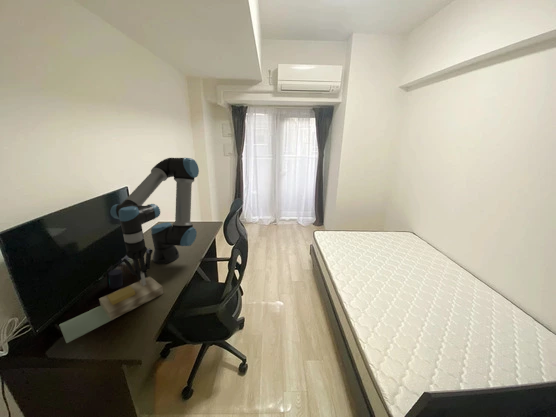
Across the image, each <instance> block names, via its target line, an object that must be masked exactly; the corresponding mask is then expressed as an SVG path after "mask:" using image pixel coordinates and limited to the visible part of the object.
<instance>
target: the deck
mask: <svg viewBox="0 0 556 417" xmlns="http://www.w3.org/2000/svg"><path fill="white" fill-rule="evenodd" d="M145 280H146V285H144V286H143V285H141V283H140V280H138V281H136V282H134V283H132V284H129V285H127V286H125V287H122V288H120V289H118V290H116V291H113V292H111V293H109V294H106V295H103V296H102V297H100V298H98V300H99V301H98V302H99V304H100V305H99V306H101V307H102V308H103V309H104V311H105V312H106V314H107V315H108V316H109V318H110V319H111V321H113V320H115V319H116V318H119V317H121V316H123V315H124V314H127V313H128V312H131V311H133V310H134V309H136V308H138V307H140V306H142V305H143V304H147V303H148V302H150V301H152V300H154V299H155V298H158V297H160V296H162V295H163V294H164V293H165V292H164V288H163V286H162V284H160V283H159V282H158V281H156V279H154V278H152V277H151V276H147V277H146V278H145ZM128 286H131V287H132V288H133V289H134V290H135V295H133V296H131V297H129V298H127V299H125V300H123V301H121V302H119V303H116V304H114V305H112V303H111V302H110V301H109V300H108V295H110V294H112V293H115V292H117V291H119V290H121V289H124V288H126V287H128Z"/></svg>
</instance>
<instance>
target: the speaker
mask: <svg viewBox="0 0 556 417" xmlns="http://www.w3.org/2000/svg"><path fill="white" fill-rule="evenodd" d="M106 283H107V284H106V286H107V289H113V290H114V289H119V288H121V287H122V286H123V284H124V283H123V271H122V269H119V268H117V269H114V268H113V265H110V267H109V268H108V269H107V270H106Z"/></svg>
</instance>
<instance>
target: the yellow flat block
mask: <svg viewBox="0 0 556 417" xmlns="http://www.w3.org/2000/svg"><path fill="white" fill-rule="evenodd" d="M127 286H128V287H127ZM127 286H125V287H126V288H124V287H123V288H124V289H122V288H120V289H121V290H120V289H118V290H119V291H118V290H116V291H117V292H115V291H114V292H115V293H113V292H111V293H112V294H111V293H109V294H110V295H108V294H107V295H108V300H109V301H110V302H111V303H112V305H114V304H116V303H119V302H121V301H123V300H125V299H127V298H129V297H131V296H133V295H135V290H134V289H133V288H132V287H131V286H129V285H127Z"/></svg>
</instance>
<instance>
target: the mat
mask: <svg viewBox="0 0 556 417" xmlns="http://www.w3.org/2000/svg"><path fill="white" fill-rule="evenodd" d="M111 321H112V320H111V319H110V318H109V316H108V315H107V314H106V312H105V311H104V309H103V308H102V307H101V305H99V306H97V307H95V308H92V309H90V310H89V311H85V312H84V313H81V314H79V315H77V316H75V317H73V318H70V319H68V320H66V321H64V322H62V323H61V322H60V324H59V325H58V326H59V328H60V331H61V333H62V335H63V338H64V341H65V343H66V344H68V343H71V342H72V341H74V340H76V339H79V338H80V337H82V336H84V335H87V334H88V333H90V332H92V331H93V330H95V329H98V328H99V327H101V326H103V325H105V324H107V323H109V322H111Z"/></svg>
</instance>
